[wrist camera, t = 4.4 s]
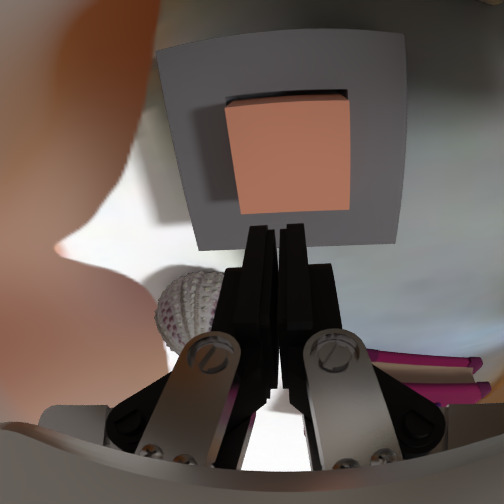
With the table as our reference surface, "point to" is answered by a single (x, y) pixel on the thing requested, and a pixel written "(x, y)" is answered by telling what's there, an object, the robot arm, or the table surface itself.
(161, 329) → the sea urchin shell
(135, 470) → the robot arm
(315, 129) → the button
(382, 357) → the book
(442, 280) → the table surface
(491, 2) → the fossil rock
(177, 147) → the button box
